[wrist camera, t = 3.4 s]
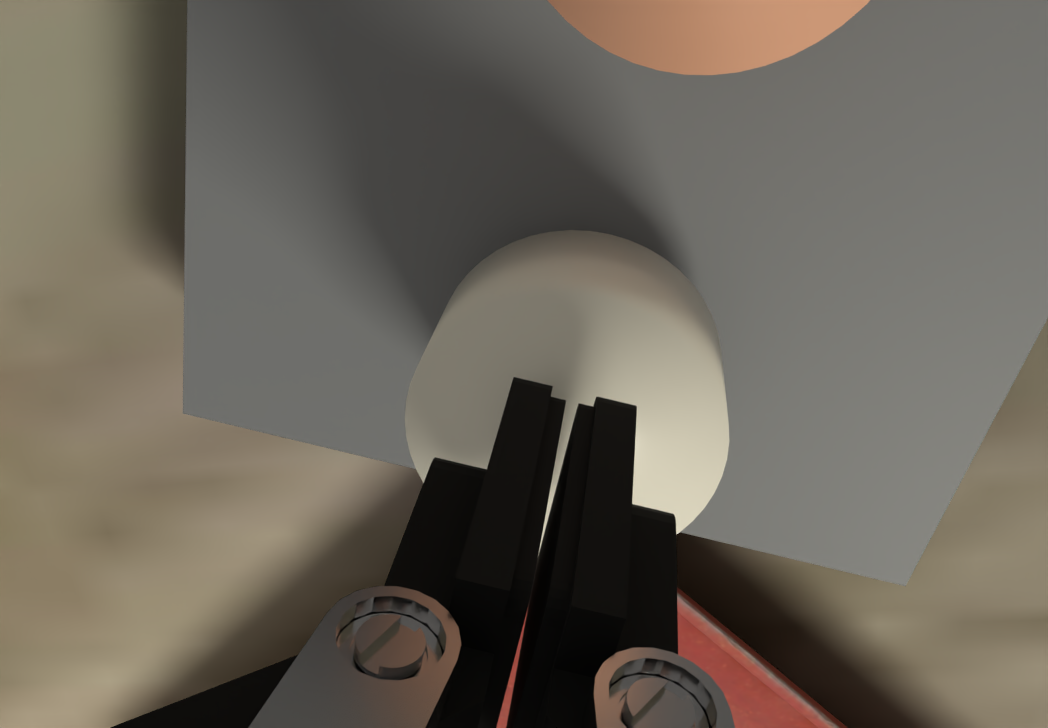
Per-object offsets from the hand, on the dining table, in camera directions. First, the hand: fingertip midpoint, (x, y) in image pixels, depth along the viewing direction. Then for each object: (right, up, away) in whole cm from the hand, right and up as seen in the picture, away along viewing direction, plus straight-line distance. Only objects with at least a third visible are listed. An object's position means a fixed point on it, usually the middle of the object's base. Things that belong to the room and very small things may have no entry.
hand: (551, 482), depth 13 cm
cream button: (+1, +2, +3) cm, 4 cm away
